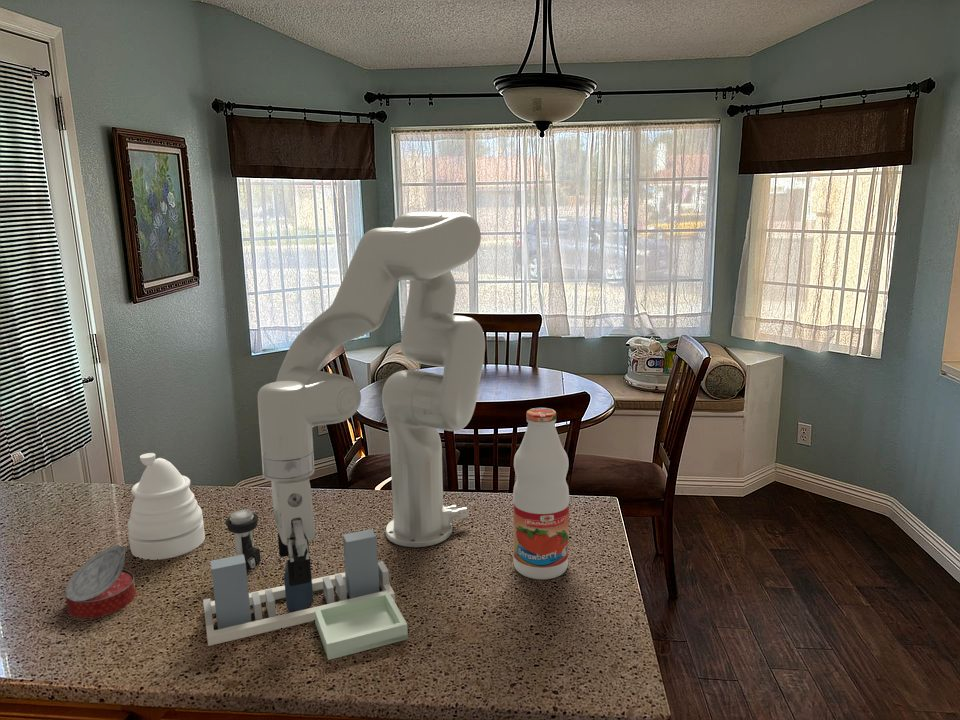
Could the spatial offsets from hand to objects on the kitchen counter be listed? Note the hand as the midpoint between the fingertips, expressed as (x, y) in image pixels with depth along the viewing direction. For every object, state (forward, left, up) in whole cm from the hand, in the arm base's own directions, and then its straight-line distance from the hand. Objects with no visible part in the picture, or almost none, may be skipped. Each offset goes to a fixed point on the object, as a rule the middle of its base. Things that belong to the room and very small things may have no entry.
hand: (294, 568), depth 112 cm
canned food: (+29, -15, -7) cm, 33 cm away
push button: (+7, -16, -7) cm, 19 cm away
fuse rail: (0, 0, -7) cm, 7 cm away
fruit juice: (-40, +5, -7) cm, 41 cm away
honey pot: (+19, -32, -7) cm, 38 cm away
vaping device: (0, 0, -7) cm, 7 cm away
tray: (-7, +10, -7) cm, 14 cm away
